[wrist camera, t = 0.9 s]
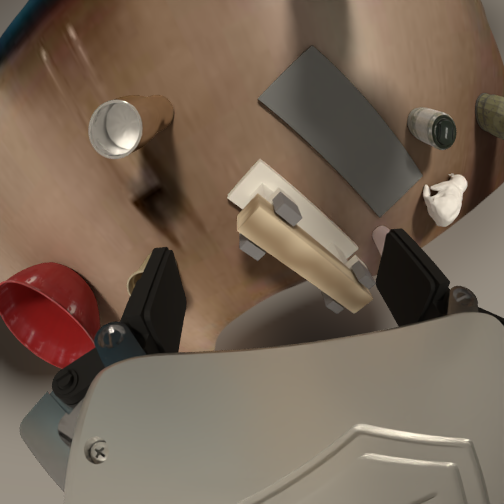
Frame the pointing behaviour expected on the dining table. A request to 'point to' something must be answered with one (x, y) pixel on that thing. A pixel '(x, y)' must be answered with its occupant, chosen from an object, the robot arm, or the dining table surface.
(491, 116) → the thermos
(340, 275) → the rail
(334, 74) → the mat
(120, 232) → the dining table surface
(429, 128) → the camera lens
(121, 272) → the dining table surface
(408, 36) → the dining table surface
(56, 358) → the mixing bowl
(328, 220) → the hook stand
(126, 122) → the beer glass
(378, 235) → the smoothie
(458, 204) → the white animal figurine
